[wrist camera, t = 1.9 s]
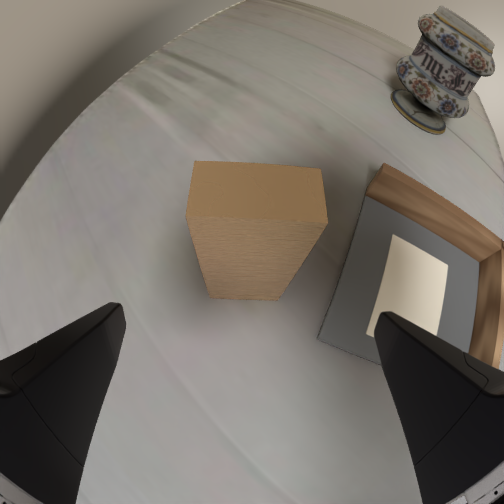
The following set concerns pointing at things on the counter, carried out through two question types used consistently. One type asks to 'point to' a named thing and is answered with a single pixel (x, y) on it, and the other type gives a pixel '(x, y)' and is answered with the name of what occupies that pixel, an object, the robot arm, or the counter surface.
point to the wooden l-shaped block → (253, 225)
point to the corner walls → (461, 236)
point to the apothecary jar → (442, 70)
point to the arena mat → (400, 283)
